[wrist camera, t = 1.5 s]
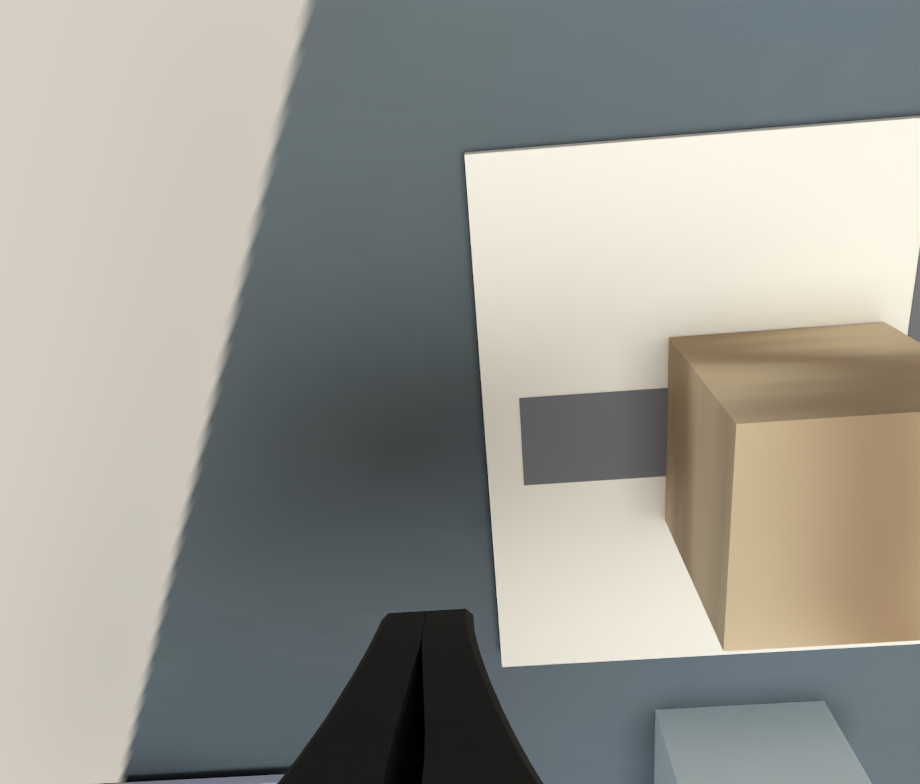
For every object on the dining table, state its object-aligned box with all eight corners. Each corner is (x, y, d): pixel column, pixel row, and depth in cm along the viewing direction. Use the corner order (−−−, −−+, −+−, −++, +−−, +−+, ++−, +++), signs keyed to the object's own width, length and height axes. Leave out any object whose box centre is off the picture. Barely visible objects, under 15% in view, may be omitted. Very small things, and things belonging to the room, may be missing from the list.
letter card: (501, 652, 23) (502, 668, 22) (464, 152, 18) (464, 154, 17) (993, 624, 22) (1008, 639, 22) (1105, 100, 17) (1128, 100, 16)
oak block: (665, 520, 20) (723, 651, 16) (668, 336, 18) (736, 424, 14) (860, 508, 20) (978, 637, 15) (884, 321, 18) (1026, 404, 14)
